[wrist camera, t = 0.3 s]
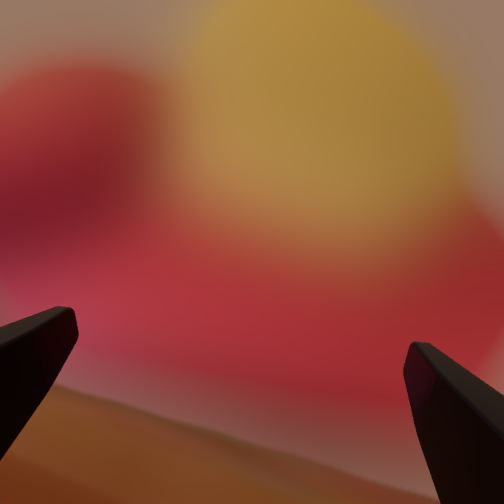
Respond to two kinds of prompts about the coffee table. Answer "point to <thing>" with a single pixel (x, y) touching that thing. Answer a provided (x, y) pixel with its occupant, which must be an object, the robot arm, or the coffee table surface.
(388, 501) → the coffee table surface
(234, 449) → the coffee table surface
